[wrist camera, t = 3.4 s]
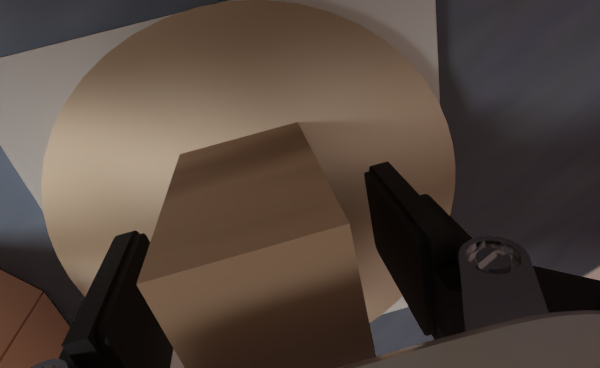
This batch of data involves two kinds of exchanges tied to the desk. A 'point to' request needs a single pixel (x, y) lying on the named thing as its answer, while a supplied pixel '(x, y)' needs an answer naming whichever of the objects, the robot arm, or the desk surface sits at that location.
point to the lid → (246, 178)
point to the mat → (91, 49)
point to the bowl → (28, 325)
